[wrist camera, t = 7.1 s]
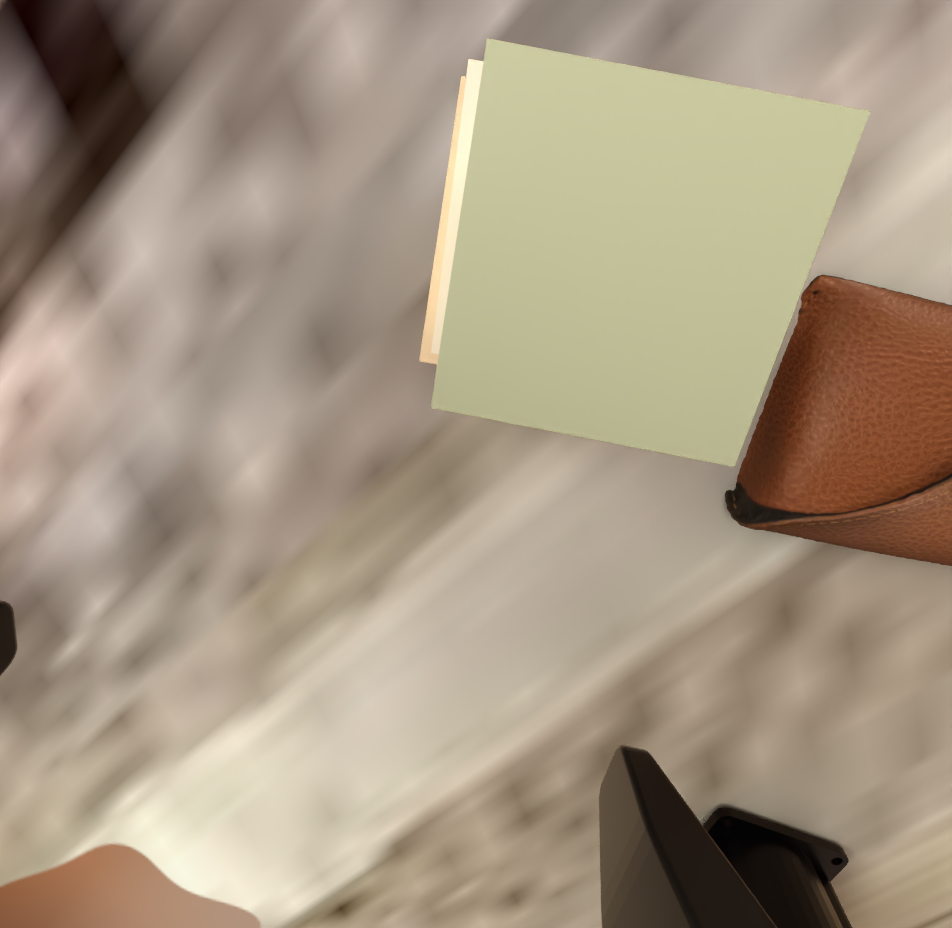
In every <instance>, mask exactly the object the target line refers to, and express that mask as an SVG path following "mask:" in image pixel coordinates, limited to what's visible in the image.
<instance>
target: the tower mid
mask: <svg viewBox="0 0 952 928" xmlns="http://www.w3.org/2000/svg"><path fill="white" fill-rule="evenodd" d="M483 62H484V61H477V60H471V59H469V60H468V68H467V76H466V84H465V91H464V99H463V107H462V115H461V123H460V131H459V138H458V146H457V154H456V162H455V170H454V177H453V185H452V193H451V201H450V209H449V216H448V224H447V232H446V240H445V248H444V255H443V263H442V271H441V279H440V287H439V294H438V302H437V310H436V318H435V326H434V334H433V341H432V349H431V353H435V354H439V350H440V343H441V337H442V330H443V323H444V317H445V310H446V304H447V297H448V291H449V284H450V278H451V271H452V265H453V258H454V252H455V245H456V238H457V232H458V225H459V219H460V212H461V206H462V199H463V193H464V186H465V180H466V173H467V167H468V160H469V154H470V147H471V140H472V134H473V127H474V121H475V114H476V108H477V101H478V95H479V88H480V82H481V75H482V69H483Z"/></svg>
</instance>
